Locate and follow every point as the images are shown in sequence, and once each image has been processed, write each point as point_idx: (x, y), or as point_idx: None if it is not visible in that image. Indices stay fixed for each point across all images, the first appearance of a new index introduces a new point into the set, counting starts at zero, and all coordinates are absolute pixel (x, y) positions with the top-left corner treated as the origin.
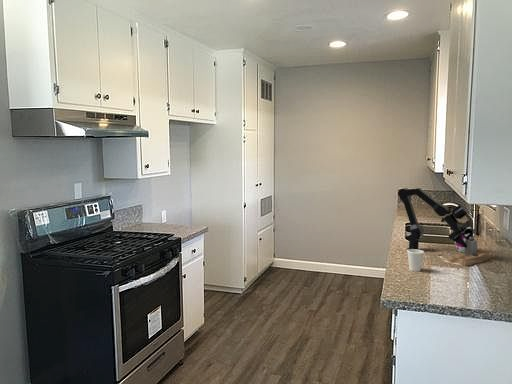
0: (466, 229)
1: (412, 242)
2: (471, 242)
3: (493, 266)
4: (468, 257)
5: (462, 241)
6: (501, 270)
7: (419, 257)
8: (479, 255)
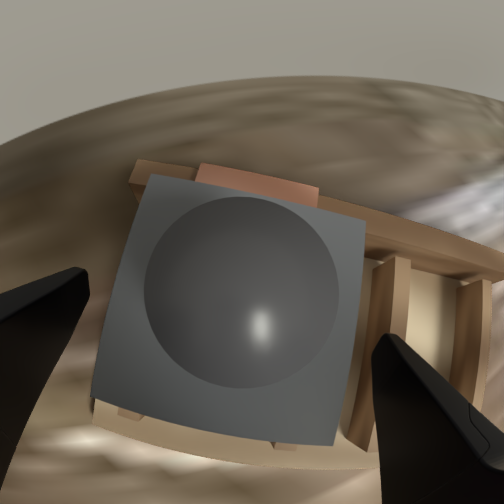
0: None
1: None
2: (352, 266)
3: (301, 133)
4: (407, 286)
5: (464, 418)
6: (355, 96)
7: None
8: (317, 196)
